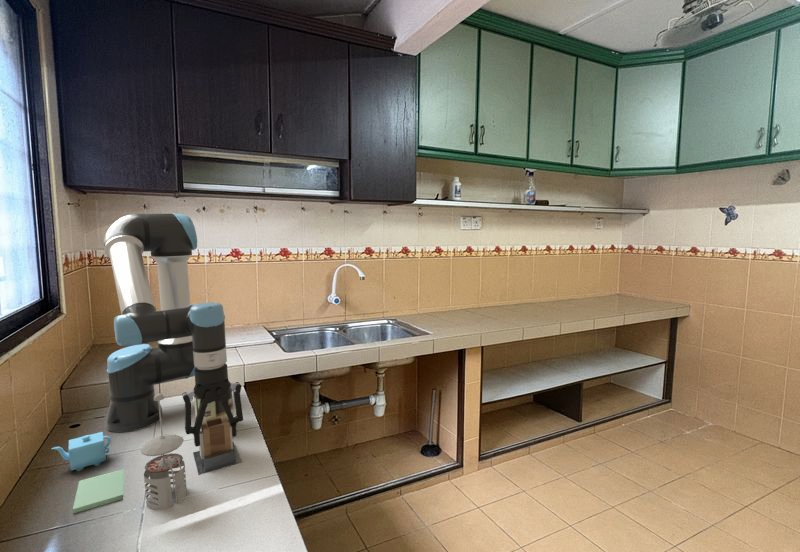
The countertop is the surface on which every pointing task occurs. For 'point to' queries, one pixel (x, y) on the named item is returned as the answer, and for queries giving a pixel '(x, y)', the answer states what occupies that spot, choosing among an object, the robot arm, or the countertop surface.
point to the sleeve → (216, 435)
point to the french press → (164, 468)
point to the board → (99, 490)
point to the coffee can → (215, 407)
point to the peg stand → (216, 460)
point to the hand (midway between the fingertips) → (216, 452)
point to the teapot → (85, 451)
